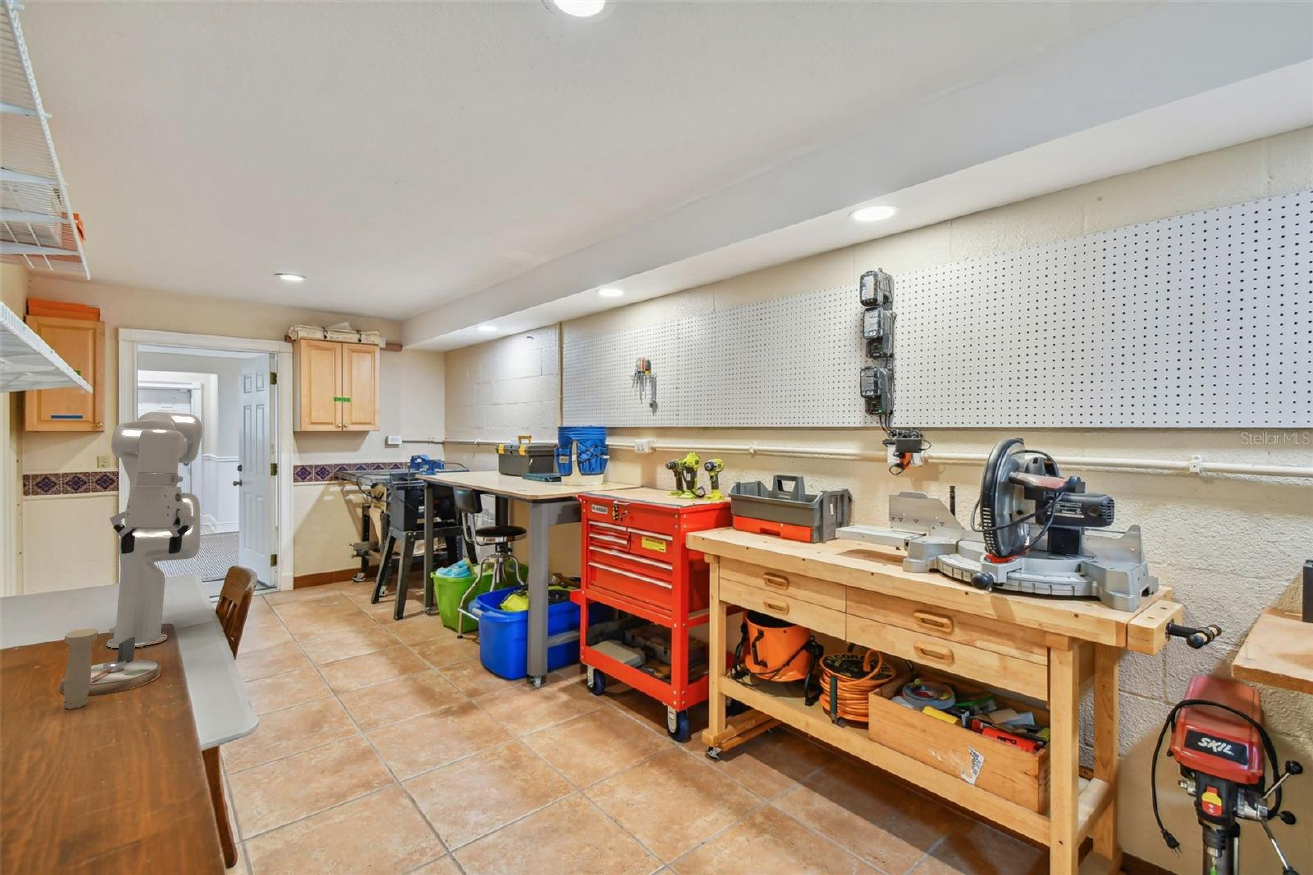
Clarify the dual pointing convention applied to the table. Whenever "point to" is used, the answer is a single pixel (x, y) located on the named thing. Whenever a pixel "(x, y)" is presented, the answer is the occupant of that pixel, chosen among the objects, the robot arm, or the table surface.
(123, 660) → the dial pointer
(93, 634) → the handle
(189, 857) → the table surface
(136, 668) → the base
